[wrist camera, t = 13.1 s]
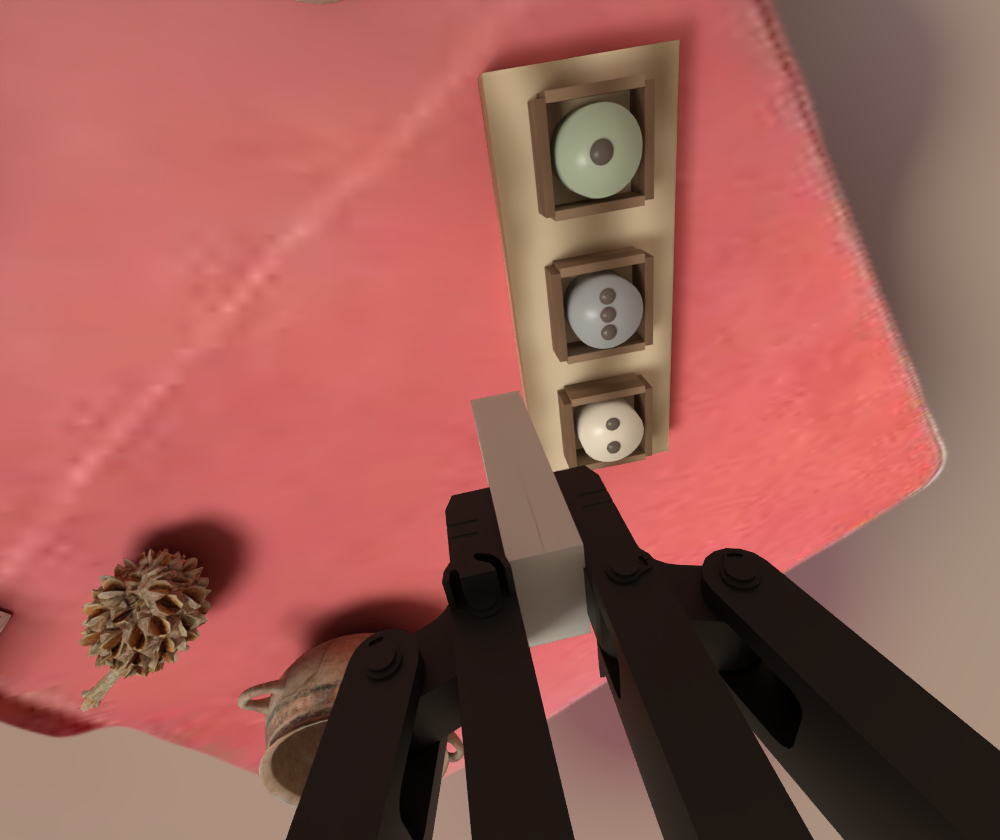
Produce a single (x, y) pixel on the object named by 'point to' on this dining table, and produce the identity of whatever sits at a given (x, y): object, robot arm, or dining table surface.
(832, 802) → the robot arm
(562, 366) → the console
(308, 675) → the cooking pot
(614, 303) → the button three
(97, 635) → the pine cone
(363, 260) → the dining table surface
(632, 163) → the button one
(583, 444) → the button two
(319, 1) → the teacup
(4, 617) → the tea box
